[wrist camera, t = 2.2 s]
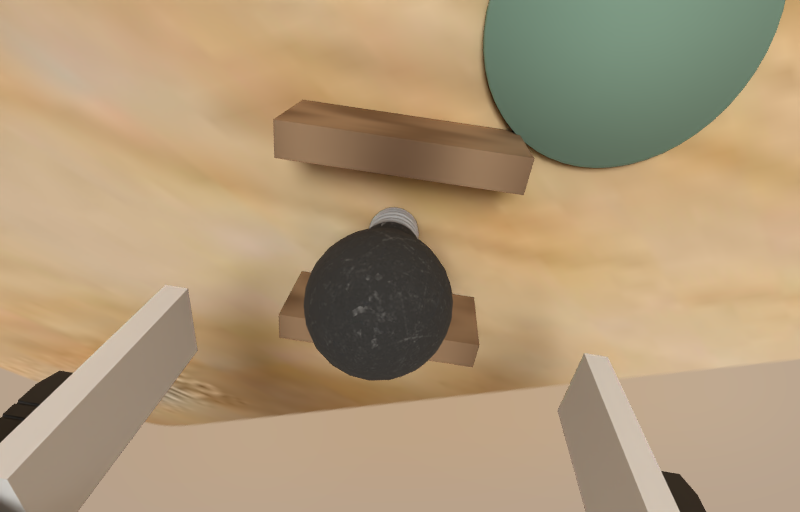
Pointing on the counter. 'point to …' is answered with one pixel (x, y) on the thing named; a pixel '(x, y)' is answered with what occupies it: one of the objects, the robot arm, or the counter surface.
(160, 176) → the counter surface
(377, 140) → the pair of wooden planks
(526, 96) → the pad
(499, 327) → the counter surface
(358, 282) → the light bulb
